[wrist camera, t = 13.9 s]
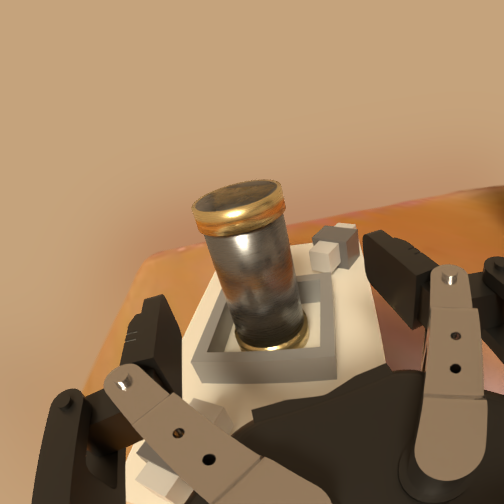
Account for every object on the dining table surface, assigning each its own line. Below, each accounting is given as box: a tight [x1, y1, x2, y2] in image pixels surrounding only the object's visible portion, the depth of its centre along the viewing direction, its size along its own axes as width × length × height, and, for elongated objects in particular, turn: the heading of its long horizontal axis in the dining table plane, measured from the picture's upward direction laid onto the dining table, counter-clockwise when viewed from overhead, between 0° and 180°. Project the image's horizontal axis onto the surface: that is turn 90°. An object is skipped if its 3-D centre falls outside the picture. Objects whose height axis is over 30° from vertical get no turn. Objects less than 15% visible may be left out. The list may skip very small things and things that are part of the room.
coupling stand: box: [125, 223, 386, 504], centre depth 21 cm, size 14×26×4 cm, turn 170°
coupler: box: [192, 180, 310, 352], centre depth 19 cm, size 5×5×10 cm
